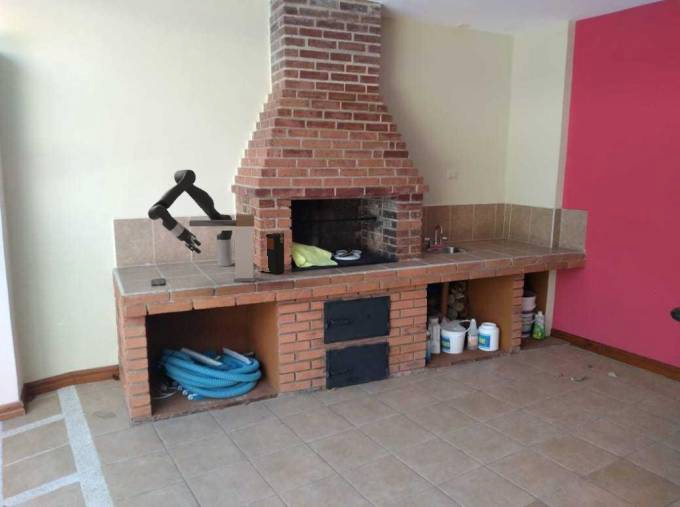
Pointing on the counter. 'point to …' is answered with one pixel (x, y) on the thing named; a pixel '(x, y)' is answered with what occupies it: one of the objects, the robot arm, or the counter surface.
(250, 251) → the shelf stand
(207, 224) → the carriage
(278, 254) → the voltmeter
